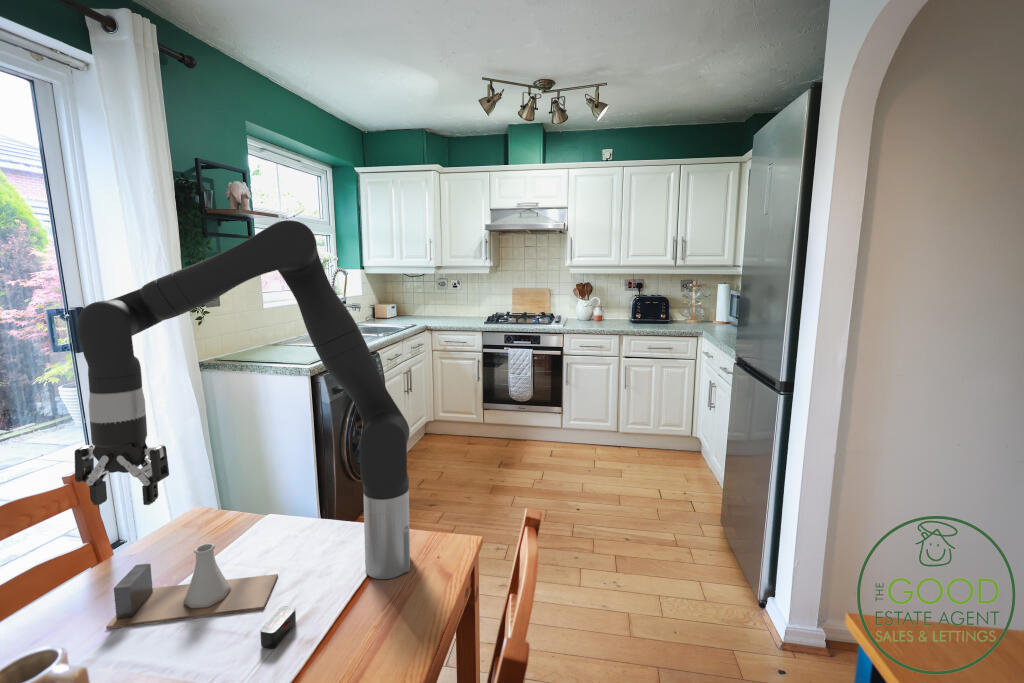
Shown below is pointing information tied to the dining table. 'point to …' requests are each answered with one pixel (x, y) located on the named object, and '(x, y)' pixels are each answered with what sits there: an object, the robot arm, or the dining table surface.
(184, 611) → the strip
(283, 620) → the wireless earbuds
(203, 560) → the flask
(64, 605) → the dining table surface
